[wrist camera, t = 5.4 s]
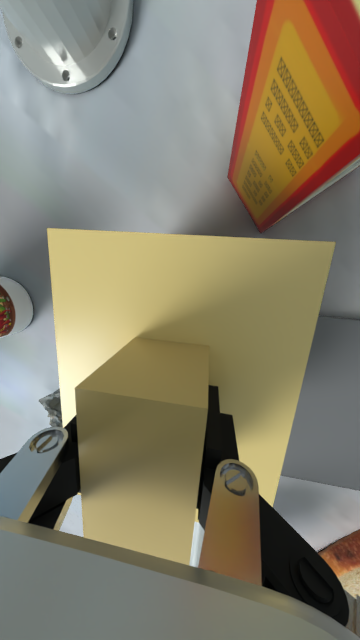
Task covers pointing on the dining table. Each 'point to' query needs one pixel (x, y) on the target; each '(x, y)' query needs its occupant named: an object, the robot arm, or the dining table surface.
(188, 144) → the dining table surface
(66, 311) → the lid
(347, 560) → the slice of bread
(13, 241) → the dining table surface
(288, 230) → the dining table surface
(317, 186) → the baking soda box
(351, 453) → the mat
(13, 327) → the milk bottle
